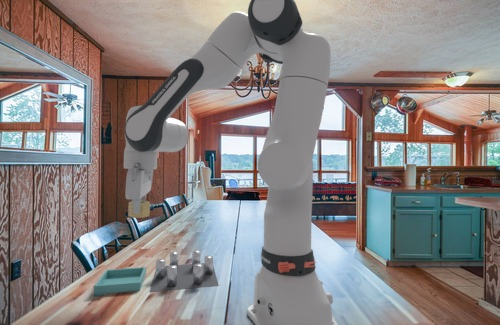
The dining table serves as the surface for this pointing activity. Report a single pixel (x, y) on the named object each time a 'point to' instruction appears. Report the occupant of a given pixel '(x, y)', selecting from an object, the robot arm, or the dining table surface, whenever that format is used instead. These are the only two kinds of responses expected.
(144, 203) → the brass nut
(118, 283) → the parts tray
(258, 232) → the dining table surface
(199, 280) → the steel spacers
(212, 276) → the mat
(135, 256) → the dining table surface
